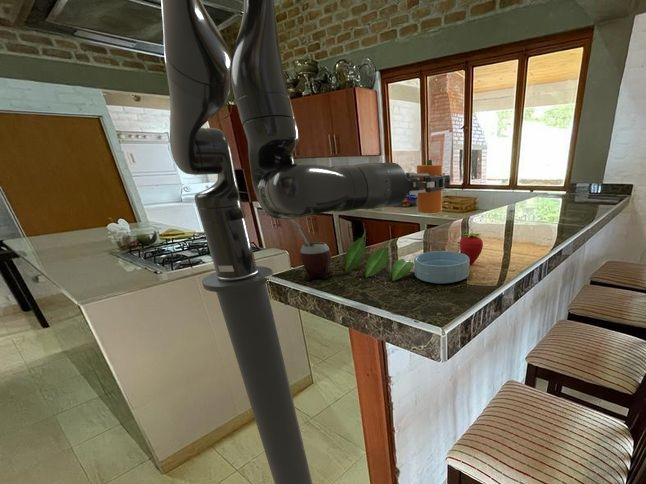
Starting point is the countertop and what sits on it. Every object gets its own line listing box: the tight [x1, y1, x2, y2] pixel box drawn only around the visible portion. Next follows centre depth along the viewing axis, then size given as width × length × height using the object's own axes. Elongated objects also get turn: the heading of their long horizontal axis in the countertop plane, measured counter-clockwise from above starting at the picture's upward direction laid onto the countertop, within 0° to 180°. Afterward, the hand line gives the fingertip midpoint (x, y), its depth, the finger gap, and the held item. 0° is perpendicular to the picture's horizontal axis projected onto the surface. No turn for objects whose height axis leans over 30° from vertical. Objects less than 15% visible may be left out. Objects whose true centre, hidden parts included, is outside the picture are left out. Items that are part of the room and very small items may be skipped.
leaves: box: [344, 229, 414, 282], centre depth 84 cm, size 18×6×13 cm
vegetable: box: [416, 159, 443, 214], centre depth 69 cm, size 5×5×10 cm
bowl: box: [413, 250, 470, 285], centre depth 80 cm, size 13×13×4 cm
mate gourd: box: [288, 219, 332, 281], centre depth 79 cm, size 8×8×15 cm
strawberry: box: [459, 226, 484, 266], centre depth 87 cm, size 6×8×10 cm
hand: (437, 180), depth 71 cm, fingers closed on vegetable, 5 cm apart
